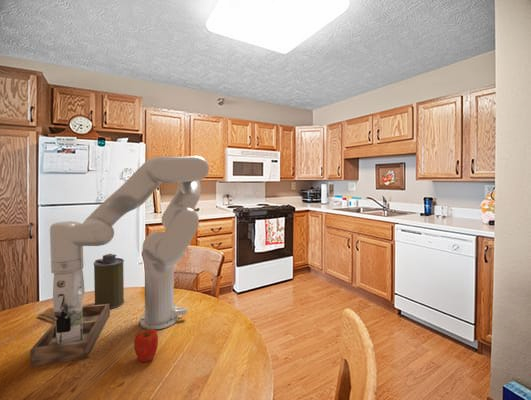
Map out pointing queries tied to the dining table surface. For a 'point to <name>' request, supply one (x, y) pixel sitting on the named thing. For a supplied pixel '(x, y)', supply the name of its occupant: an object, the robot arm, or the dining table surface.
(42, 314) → the shard
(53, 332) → the tray
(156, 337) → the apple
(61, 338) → the syrup box
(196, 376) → the dining table surface
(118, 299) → the canister
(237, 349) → the dining table surface
